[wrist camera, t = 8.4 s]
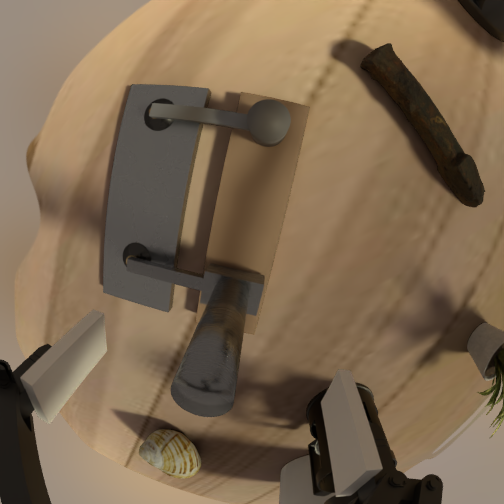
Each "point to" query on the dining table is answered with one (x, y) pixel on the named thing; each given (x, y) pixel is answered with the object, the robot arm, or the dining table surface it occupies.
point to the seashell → (171, 453)
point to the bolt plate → (149, 191)
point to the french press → (320, 449)
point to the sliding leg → (210, 332)
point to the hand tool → (427, 124)
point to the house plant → (489, 360)
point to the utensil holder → (298, 484)
